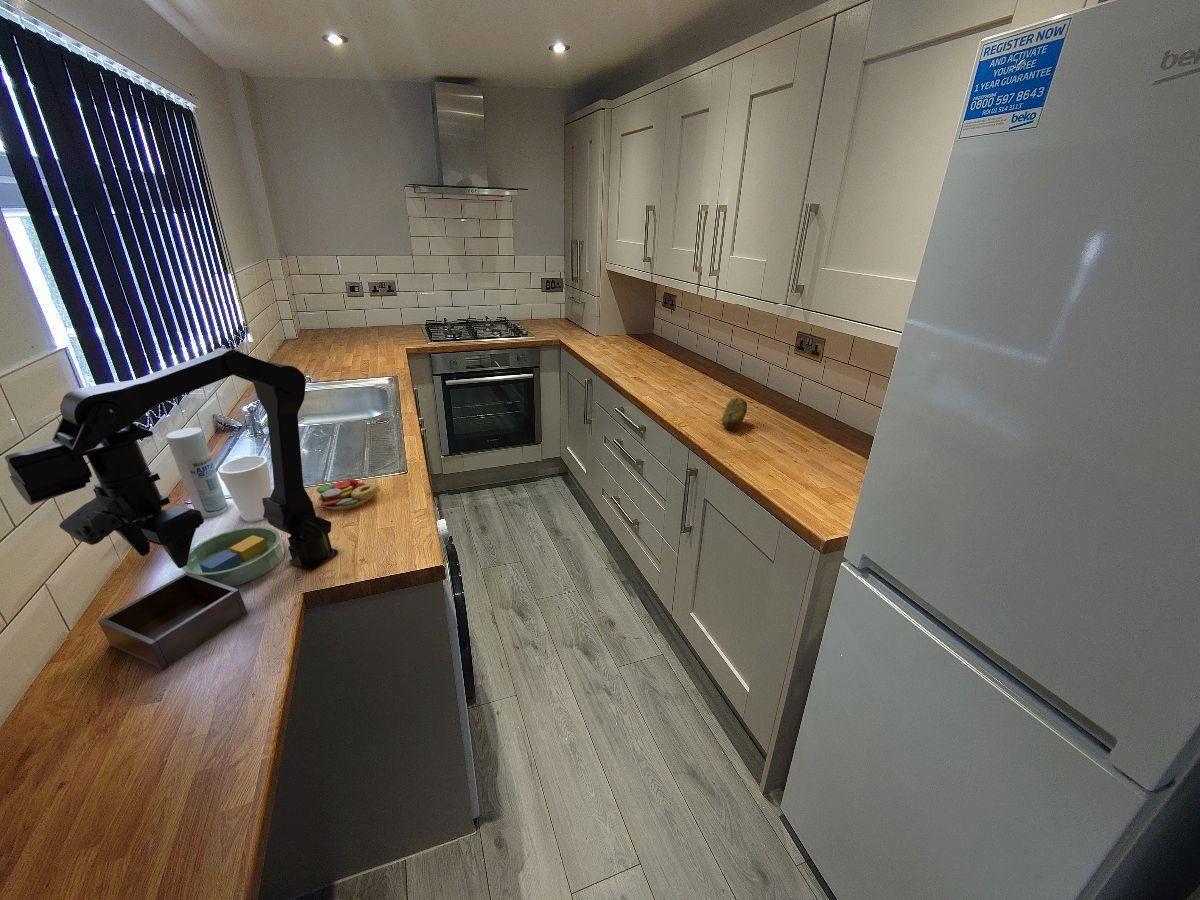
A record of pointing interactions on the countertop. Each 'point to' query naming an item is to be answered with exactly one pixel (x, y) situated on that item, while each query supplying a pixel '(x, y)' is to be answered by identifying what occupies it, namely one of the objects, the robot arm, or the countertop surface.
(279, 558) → the bowl
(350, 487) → the toy food set
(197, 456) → the spray can
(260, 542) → the yellow block
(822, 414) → the countertop surface
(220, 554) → the blue gray block
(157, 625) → the holder
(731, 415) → the olive green oval lump
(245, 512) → the foam cup
